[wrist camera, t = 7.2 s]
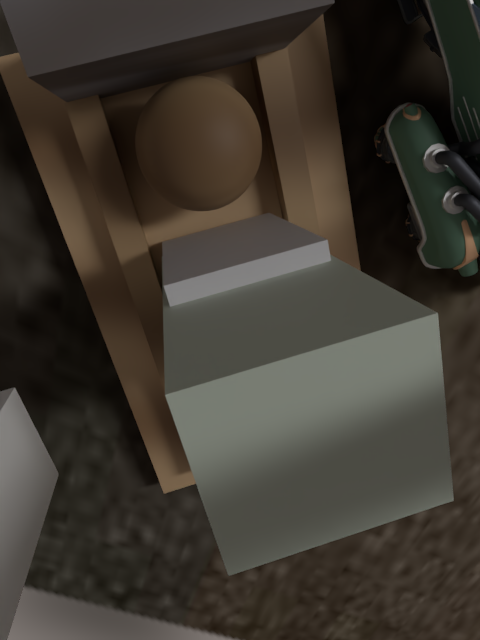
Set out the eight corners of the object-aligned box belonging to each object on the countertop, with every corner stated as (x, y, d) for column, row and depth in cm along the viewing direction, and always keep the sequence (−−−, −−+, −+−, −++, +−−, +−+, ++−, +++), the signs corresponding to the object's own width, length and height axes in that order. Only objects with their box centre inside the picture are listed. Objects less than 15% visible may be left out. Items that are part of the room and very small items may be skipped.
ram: (157, 242, 19) (153, 364, 7) (272, 210, 19) (435, 281, 8) (190, 348, 20) (228, 575, 9) (295, 318, 21) (453, 500, 10)
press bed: (5, 65, 17) (-96, 1, 10) (308, -7, 18) (398, -110, 11) (163, 478, 24) (165, 600, 17) (373, 412, 25) (451, 504, 18)
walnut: (122, 102, 17) (110, 83, 13) (234, 74, 17) (258, 47, 13) (157, 217, 18) (157, 234, 14) (260, 190, 19) (287, 198, 15)
